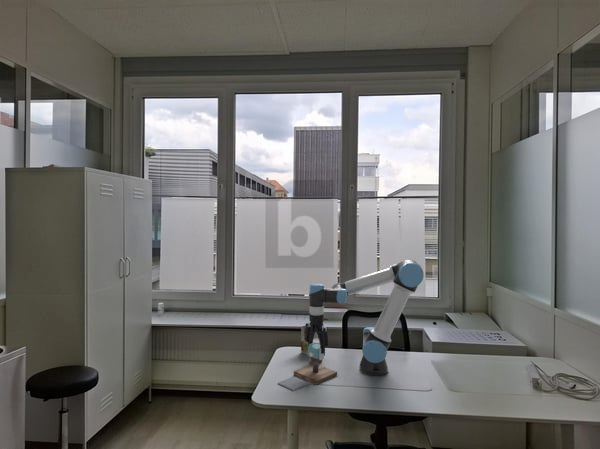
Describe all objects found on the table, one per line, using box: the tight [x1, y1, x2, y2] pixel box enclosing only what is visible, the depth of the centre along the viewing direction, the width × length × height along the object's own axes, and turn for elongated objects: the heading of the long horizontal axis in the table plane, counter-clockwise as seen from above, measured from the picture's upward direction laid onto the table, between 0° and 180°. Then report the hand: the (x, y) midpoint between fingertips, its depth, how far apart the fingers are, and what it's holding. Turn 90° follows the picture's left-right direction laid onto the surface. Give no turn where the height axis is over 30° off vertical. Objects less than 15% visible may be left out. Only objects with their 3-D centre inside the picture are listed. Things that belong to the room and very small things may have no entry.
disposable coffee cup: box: [310, 338, 323, 364], centre depth 225 cm, size 10×10×12 cm
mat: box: [277, 376, 310, 392], centre depth 194 cm, size 11×11×1 cm
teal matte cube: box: [307, 344, 326, 359], centre depth 205 cm, size 6×7×5 cm
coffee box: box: [300, 324, 318, 356], centre depth 238 cm, size 9×6×16 cm
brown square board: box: [293, 358, 338, 385], centre depth 205 cm, size 16×16×10 cm
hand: (316, 357), depth 205 cm, fingers closed on teal matte cube, 6 cm apart
